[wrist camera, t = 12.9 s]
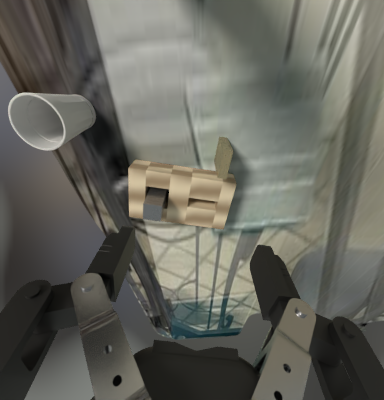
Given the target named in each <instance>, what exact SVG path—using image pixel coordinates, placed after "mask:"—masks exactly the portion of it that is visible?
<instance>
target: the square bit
mask: <svg viewBox="0 0 384 400" xmlns="http://www.w3.org/2000/svg"><path fill="white" fill-rule="evenodd" d="M167 197H168V189H163V188H156V187H151V188H150V190H149V192H148V194H147V196H146V199H145V201H144V203H143V219H148V220H155V221H161V219H162V215H163V211H164V208H165V204H166V200H167Z"/></svg>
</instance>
